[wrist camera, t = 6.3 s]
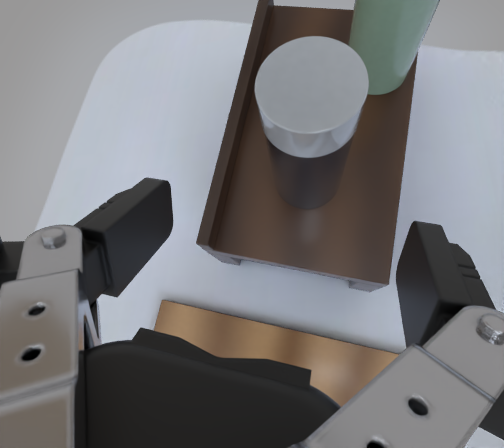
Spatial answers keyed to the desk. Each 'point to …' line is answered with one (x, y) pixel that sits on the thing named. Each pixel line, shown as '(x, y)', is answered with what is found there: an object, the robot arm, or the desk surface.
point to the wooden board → (277, 347)
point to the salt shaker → (389, 38)
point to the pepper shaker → (310, 115)
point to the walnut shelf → (351, 187)
